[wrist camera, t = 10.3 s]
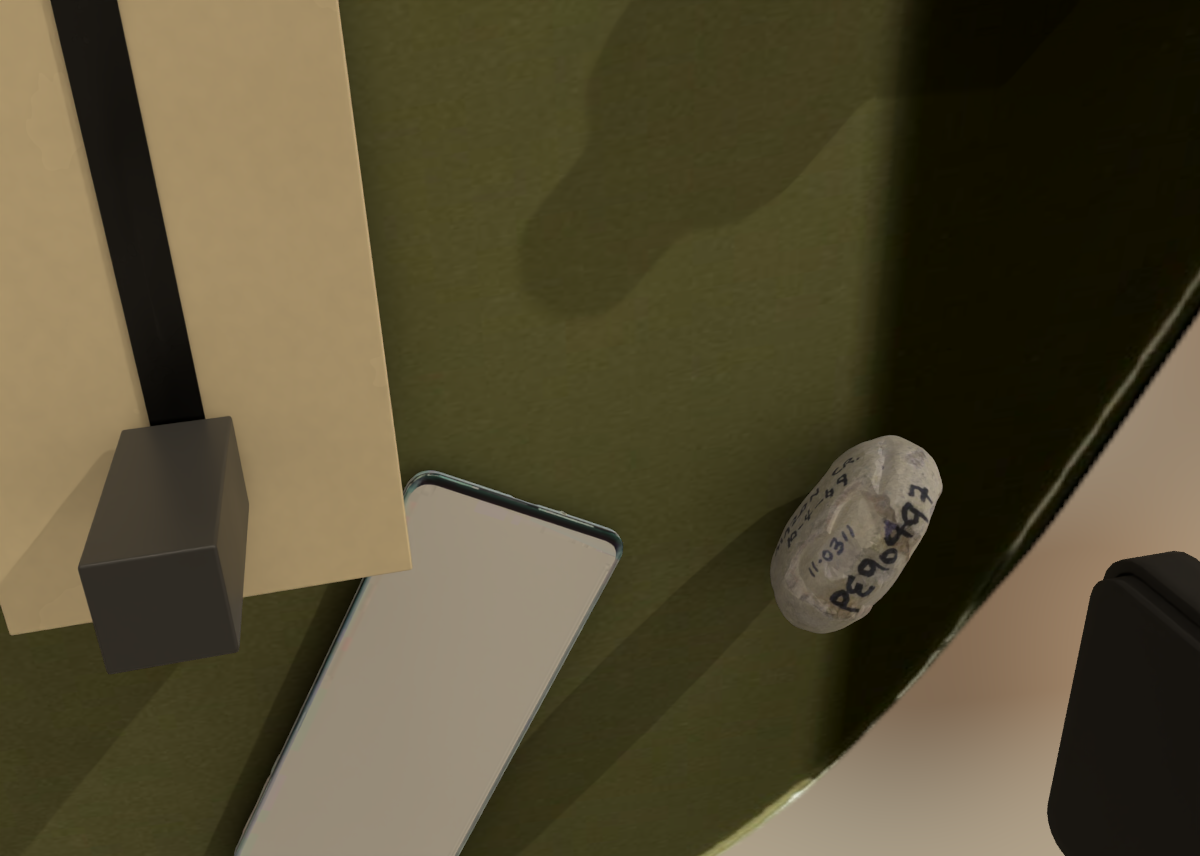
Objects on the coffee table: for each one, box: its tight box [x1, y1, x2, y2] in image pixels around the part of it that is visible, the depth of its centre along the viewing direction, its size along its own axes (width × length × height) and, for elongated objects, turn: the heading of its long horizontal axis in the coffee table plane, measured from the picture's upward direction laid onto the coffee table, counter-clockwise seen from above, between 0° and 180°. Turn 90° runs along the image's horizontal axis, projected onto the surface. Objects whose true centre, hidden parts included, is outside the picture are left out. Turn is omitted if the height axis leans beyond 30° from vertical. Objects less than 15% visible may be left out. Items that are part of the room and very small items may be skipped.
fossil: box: [770, 435, 942, 633], centre depth 33 cm, size 6×3×5 cm, turn 151°
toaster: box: [0, 0, 413, 635], centre depth 24 cm, size 13×8×8 cm, turn 2°
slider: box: [78, 416, 249, 674], centre depth 19 cm, size 2×2×5 cm
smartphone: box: [234, 470, 623, 856], centre depth 35 cm, size 7×1×15 cm
